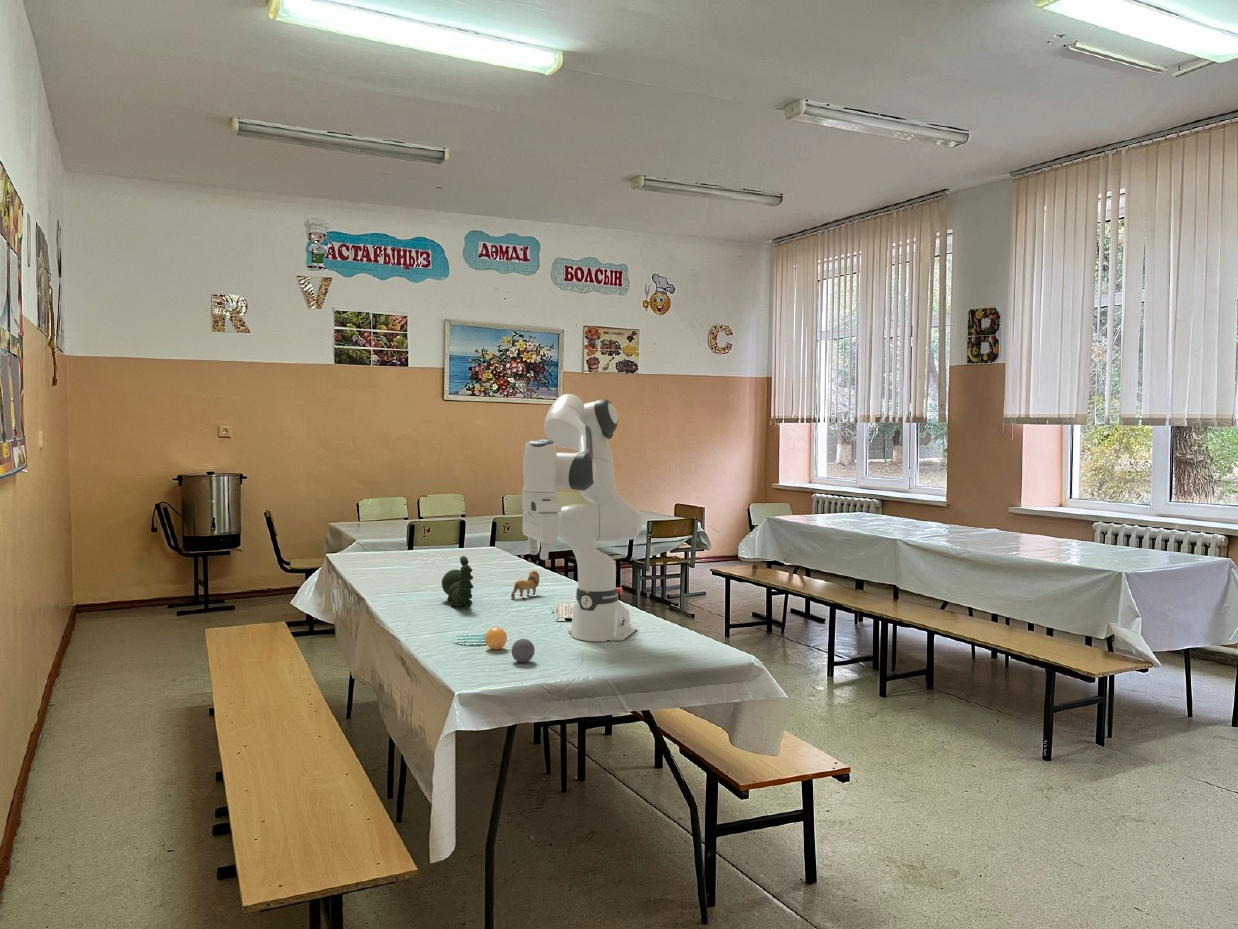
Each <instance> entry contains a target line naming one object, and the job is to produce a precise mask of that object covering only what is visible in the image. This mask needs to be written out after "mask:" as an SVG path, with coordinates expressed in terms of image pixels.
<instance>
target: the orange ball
mask: <svg viewBox="0 0 1238 929" xmlns="http://www.w3.org/2000/svg"><path fill="white" fill-rule="evenodd" d="M485 642H486V644H487V645H486V646H487V647H488V648H490V649H491V650H501V649H502V648H503V647H504V646H506V644H507V642H508V635H507V632H506V631H505V629H503V628H501V627H498V626H497V627H491V628H490V629H488V630H487V632H486V636H485Z"/></svg>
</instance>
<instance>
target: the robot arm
mask: <svg viewBox="0 0 1238 929" xmlns="http://www.w3.org/2000/svg"><path fill="white" fill-rule="evenodd" d="M618 415H619V414H618V411H617V409H616V407H615V405H614V404H613V403H612V402H611V401H610V400H608V399H605V398H603V399H596V400H595V401H592V402H586V403H584V401H582V399H581V398H580V397H579V396H577V395H576V394H571V393H565V394H562V395H560V396H559V397H557V399H555V401H554V402H553V403H552V404H551V406H550V407H549V409H548V412H547V414H546V416H545V419H544V425H543V430H544V434H545V436H546V438H537V439H531V440H529V441H527V442H526V443H525V448H524V454H523V462H522V478H523V487H522V491H521V492H522V496H521V501H522V503H521V505H522V506H521V509H522V510H523V512H522V528H521V529H522V534H523V536H526V537H527V543H528V547H529V554H530V555H532V556H536V555H538V554H539V559H540V560H542V561H547V560H548V559H549V552H550V549H551V544H556V543H557V541H558V538H559V539H560V540H563V541H564V542H565V543H566V544H567V545H568V546H569V547H570V549H571V550H572V553H573V554H574V556H575V559H576V564H577V578H578V579H577V583H578V585H577V587H576V592H575V595H576V597H575V598H576V599H575V600H576V601H577V602H576V603H574V604H575V605H574V607H573V616H572V618H571V619H572V620H571V627H569V628H567V629H568V631H567V632H568V633H569V634H571V636H572V637H573V638H575V639H576V640H580V641H587V642H607V640H610V641H624V639H625V638H626V637H627V638H628V635H629V634H630V633H632V632H633V631H634V630H635V629H636V628H637V629H638V626H637V625H634V624H632V623H630V621H631V620H630V617H631V616H630V611H629V609H628V608H626V606H625V605H623V603H622V602H621V601H619V599H620V598H619V595H622V594H623V587H617V586H616V583H617V582H616V579H617V574H616V573H617V566H616V562H615V560H614V559H613V558H612V557H611V556H610V555H608V554H607V553H604V552H602V551H599V550H598V549H597V548H596V543H598V542H617V543H619V542H625V541H631V540H635V539H636V538H637V537H638V536H639V535H640V533H641V530H642V526H643V520H642V516H641V513H640V511H639V510H638V509H637V508H636V507H635V506H634V505H631V504H630V503H628V502H627V501H626V500H625V499H624V498H623V497H622V496H621V495H620V493H619V491H618V489H617V485H616V479H615V478H616V477H615V476H616V475H615V466H614V458H613V453H612V449H611V446H610V443H609V442H608V440H611V439H612V438H613V436H614V433H615V431H616V429H617V427H618V423H619V416H618ZM557 447H558V448H563V449H569V450H575V451H577V452H557ZM560 489H561V490H574V491H579V493H580V494H581V496H582V497H583V498H584V499H585V500H587V501H588V502H590V503H573V504H568V505H564V506H562V503H561V502H560V501H559V498H558V490H560ZM538 542H540V548H541V549H540V552H539V553H538ZM632 634H633V633H632ZM627 638H626V639H627ZM626 639H625V640H626Z"/></svg>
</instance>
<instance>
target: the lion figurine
mask: <svg viewBox="0 0 1238 929" xmlns="http://www.w3.org/2000/svg"><path fill="white" fill-rule="evenodd" d="M539 584H540V574H539V572H538V571H537V570H531V571H529V572H528V578H527V579H524V580H523V579H518V580H516V581H515V582H514V584H513V590H512V592H511V595H510V599H511V598H513V599H514V600H515V599H516V597H515V594H516V593H517V592H518V591H519V597H520V598H521V597H524V591H526V595H527V594H530V595H531V593H530V592H531V591H530V590H532V596H533V595H536V591H537V587H538V586H539ZM513 599H512V600H513Z"/></svg>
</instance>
